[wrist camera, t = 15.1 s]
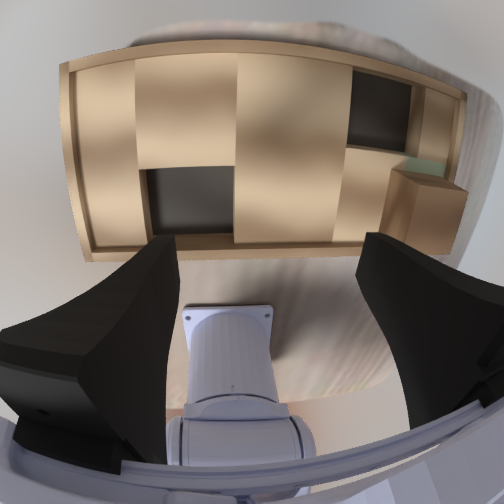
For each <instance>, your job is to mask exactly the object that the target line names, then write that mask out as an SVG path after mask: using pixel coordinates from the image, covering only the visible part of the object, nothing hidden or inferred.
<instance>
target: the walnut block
mask: <svg viewBox="0 0 504 504" xmlns="http://www.w3.org/2000/svg"><path fill="white" fill-rule="evenodd" d="M467 196H468V192H467V191H465V190H464V189H462V188H460V187H458V186H457V185H455V184H453V183H451V182H449V181H448V180H446V179H444V178H442V177H440V176H435V175H430V174H423V173H417V172H411V171H404V170H396V169H391V172H390V178H389V183H388V188H387V194H386V198H385V203H384V208H383V213H382V217H381V222H380V226H379V230H378V232H380V233H383V234H386V235H388V236H391V237H393V238H395V239H397V240H399V241H401V242H403V243H405V244H407V245H409V246H411V247H412V248H414V249H416V250H418V251H420V252H422V253H424V254H425V255H444V254H450V252H451V249H452V246H453V243H454V240H455V237H456V234H457V231H458V228H459V225H460V221H461V218H462V214H463V211H464V207H465V204H466V200H467Z"/></svg>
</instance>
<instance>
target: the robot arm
mask: <svg viewBox="0 0 504 504" xmlns="http://www.w3.org/2000/svg"><path fill="white" fill-rule="evenodd" d="M355 276H356V278H357V281H358V284H359V287H360V289H361V292H362V294H363V296H364V298H365V300H366V302H367V304H368V306H369V308H370V309H371V311H372V313H373V315H374V317H375V319H376V320H377V322H378V324H379V326H380V328H381V330H382V332H383V333H384V335H385V337H386V339H387V342H388V344H389V346H390V349H391V351H392V354H393V357H394V360H395V363H396V365H397V369H398V372H399V375H400V379H401V382H402V386H403V391H404V395H405V400H406V404H407V410H408V417H409V424H410V431H407V432H404V433H401V434H398V435H395V436H392V437H389V438H387V439H383V440H380V441H377V442H374V443H370V444H367V445H363V446H359V447H355V448H352V449H348V450H344V451H339V452H335V453H330V454H326V455H321V456H316V448H315V442H314V438H313V435H312V432H311V430H310V428H309V427H308V425H307V424H306V423H305V422H304V421H303V420H302V419H301V418H300V417H299V416H297V415H291V416H289V411H288V406H287V404H286V403H279V398H278V393H277V388H276V382H275V377H274V372H273V367H272V362H271V356H270V351H269V345H270V337H271V328H272V319H273V307H272V306H271V305H254V306H226V307H186V308H184V309H183V310H182V317H183V323H184V329H185V335H186V340H187V346H188V351H189V370H188V390H187V403H186V404H184V420H183V418H182V416H174V417H173V419H172V420H170V421H169V422H168V423H167V425H166V416H165V415H166V378H167V363H168V355H169V349H170V344H171V339H172V334H173V329H174V324H175V319H176V314H177V309H178V303H179V291H180V276H179V268H178V260H177V251H176V242H175V234H167V235H157V236H156V237H155V238H153V239H152V240H151V241H150V242H149V243H148V244H146V245H145V246H144V247H143V248H142V249H141V250H140V251H139V252H137V253H136V254H135V255H134V256H133V257H132V258H131V259H129V260H128V261H127V262H126V263H125V264H123V265H122V266H121V267H120V268H118V269H117V270H116V271H115V272H113V273H112V274H111V275H110V276H108V277H107V278H106V279H104V280H103V281H101V282H100V283H99V284H97V285H95V286H94V287H92V288H91V289H90V290H88V291H86V292H85V293H83V294H81V295H79V296H77V297H76V298H74V299H72V300H70V301H69V302H67V303H65V304H63V305H61V306H59V307H57V308H55V309H53V310H51V311H49V312H47V313H45V314H42V315H40V316H38V317H35V318H33V319H30V320H28V321H25V322H22V323H19V324H17V325H14V326H11V327H8V328H5V329H2V330H1V332H0V397H1V398H2V399H3V400H4V401H5V402H6V403H7V405H8V406H9V407H10V408H11V409H12V410H13V411H14V412H15V413H16V414H17V415H19V418H18V422H17V425H16V424H14V423H13V422H11V421H10V420H7V419H6V418H3V417H1V416H0V503H1V504H504V287H502V286H499V285H495V284H492V283H489V282H486V281H483V280H480V279H477V278H475V277H472V276H469V275H467V274H465V273H462V272H460V271H458V270H455V269H453V268H451V267H449V266H447V265H445V264H443V263H441V262H439V261H437V260H435V259H433V258H431V257H429V256H427V255H425V254H424V253H422V252H420V251H418V250H416V249H414V248H412V247H411V246H409V245H407V244H405V243H403V242H401V241H399V240H397V239H395V238H393V237H391V236H388V235H386V234H383V233H380V232H366V235H365V239H364V244H363V248H362V252H361V256H360V260H359V264H358V267H357V271H356V275H355ZM266 314H268V315H266ZM186 316H190V317H186ZM440 443H441V444H440ZM437 444H440V445H439V446H438V447H436V448H434V449H432V450H431V451H429V452H427V453H424V454H422V455H421V456H419V457H417V458H415V459H413V460H410V461H408V462H406V463H403V464H401V465H399V466H396V467H394V468H391V469H389V470H386V471H384V472H381V473H378V474H375V475H372V476H370V477H367V478H364V479H361V480H358V481H355V482H352V483H348V484H345V485H342V486H338V487H335V488H331V489H328V490H324V491H320V492H316V493H312V494H310V491H311V486H314V485H319V484H323V483H327V482H332V481H337V480H340V479H344V478H348V477H352V476H355V475H359V474H362V473H366V472H369V471H372V470H375V469H378V468H381V467H384V466H387V465H390V464H392V463H395V462H398V461H400V460H403V459H405V458H408V457H410V456H413V455H415V454H418V453H420V452H422V451H425V450H427V449H429V448H431V447H433V446H435V445H437Z"/></svg>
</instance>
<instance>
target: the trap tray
mask: <svg viewBox="0 0 504 504" xmlns="http://www.w3.org/2000/svg"><path fill="white" fill-rule="evenodd" d="M59 102H60V122H61V135H62V144H63V154H64V162H65V169H66V176H67V182H68V188H69V194H70V199H71V205H72V210H73V214H74V218H75V223H76V228H77V232H78V236H79V240H80V244H81V248H82V252H83V256H84V259H85V262H125V261H128V260H129V259H131V258H132V257H133V256H134V255H135V254H136V253H137V252H139V251H140V250H141V249H142V248H143V247H144V246H145V245H146V244H148V243H149V242H150V241H151V240H152V239H153V238H155V237H156V236H157V235H167V234H175V242H176V251H177V260H178V261H179V260H225V259H266V258H303V257H338V256H361V252H362V248H363V244H364V239H365V235H366V232H378V230H379V226H380V222H381V217H382V213H383V208H384V203H385V198H386V194H387V188H388V183H389V178H390V172H391V169H396V170H404V171H411V172H417V173H423V174H430V175H435V176H440V177H442V178H444V179H446V180H448V181H449V182H451V183H453V184H454V180H455V175H456V171H457V166H458V161H459V155H460V149H461V143H462V137H463V130H464V122H465V113H466V102H467V93H465V92H463V91H461V90H459V89H457V88H454V87H452V86H450V85H448V84H445V83H443V82H440V81H438V80H436V79H433V78H430V77H428V76H425V75H423V74H420V73H417V72H414V71H411V70H408V69H405V68H402V67H399V66H396V65H393V64H389V63H386V62H383V61H379V60H375V59H372V58H368V57H364V56H360V55H355V54H351V53H346V52H342V51H337V50H332V49H326V48H320V47H314V46H307V45H300V44H292V43H283V42H272V41H257V40H191V41H177V42H166V43H157V44H149V45H142V46H135V47H129V48H123V49H118V50H113V51H108V52H104V53H99V54H95V55H91V56H87V57H83V58H79V59H76V60H72V61H68V62H65V63H62V64H60V65H59Z"/></svg>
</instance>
